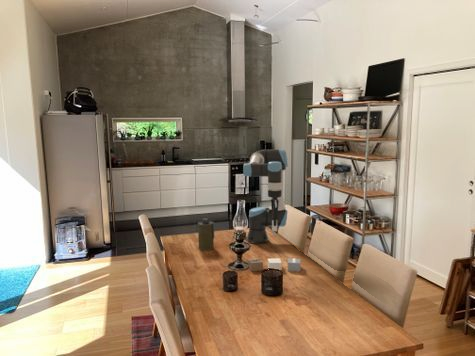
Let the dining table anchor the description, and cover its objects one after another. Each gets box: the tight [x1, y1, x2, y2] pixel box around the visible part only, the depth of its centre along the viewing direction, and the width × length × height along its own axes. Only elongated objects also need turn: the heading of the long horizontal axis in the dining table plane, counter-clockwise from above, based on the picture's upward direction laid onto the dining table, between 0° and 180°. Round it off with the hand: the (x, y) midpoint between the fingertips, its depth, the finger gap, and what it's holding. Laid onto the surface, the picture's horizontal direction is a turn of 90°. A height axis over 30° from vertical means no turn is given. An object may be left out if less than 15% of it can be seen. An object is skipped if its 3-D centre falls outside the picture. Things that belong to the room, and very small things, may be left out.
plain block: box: [267, 257, 283, 272], centre depth 218 cm, size 7×7×5 cm
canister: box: [197, 218, 215, 251], centre depth 255 cm, size 11×10×20 cm
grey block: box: [287, 257, 301, 273], centre depth 217 cm, size 7×7×5 cm
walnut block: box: [247, 257, 264, 272], centre depth 219 cm, size 7×7×5 cm
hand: (274, 230), depth 215 cm, fingers closed
